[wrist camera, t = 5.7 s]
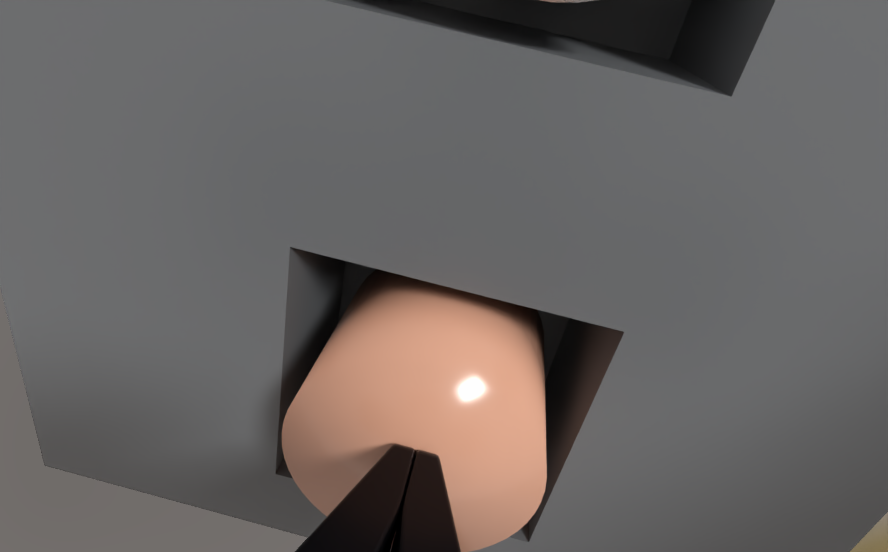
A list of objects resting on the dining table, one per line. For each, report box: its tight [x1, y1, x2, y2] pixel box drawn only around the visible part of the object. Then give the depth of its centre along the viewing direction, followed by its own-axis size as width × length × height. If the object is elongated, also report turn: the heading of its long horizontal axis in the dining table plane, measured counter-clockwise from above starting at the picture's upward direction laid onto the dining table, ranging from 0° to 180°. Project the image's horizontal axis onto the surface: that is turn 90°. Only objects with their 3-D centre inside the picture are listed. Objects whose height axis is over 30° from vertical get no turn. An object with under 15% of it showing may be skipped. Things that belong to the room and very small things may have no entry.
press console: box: [0, 0, 888, 552], centre depth 11 cm, size 18×20×5 cm
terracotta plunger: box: [282, 269, 547, 552], centre depth 11 cm, size 5×5×4 cm
